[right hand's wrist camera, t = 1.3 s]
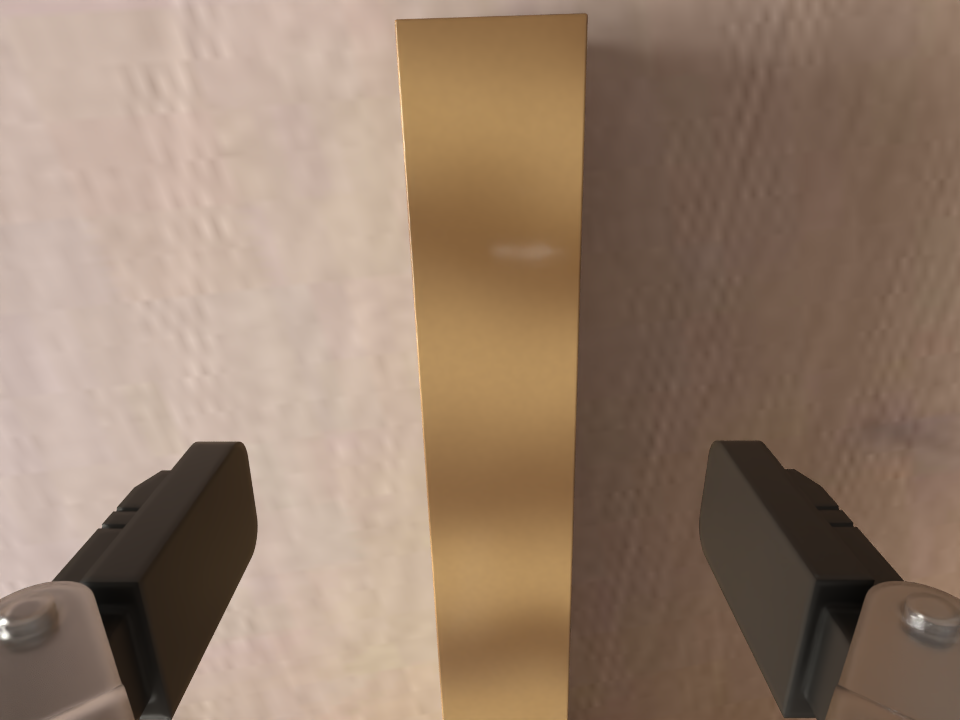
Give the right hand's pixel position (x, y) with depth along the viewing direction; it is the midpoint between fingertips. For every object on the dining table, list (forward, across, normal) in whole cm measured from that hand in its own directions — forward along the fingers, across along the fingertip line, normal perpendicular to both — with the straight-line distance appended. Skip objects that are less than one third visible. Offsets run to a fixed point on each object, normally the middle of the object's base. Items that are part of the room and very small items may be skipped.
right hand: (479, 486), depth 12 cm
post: (+18, +1, -20) cm, 27 cm away
